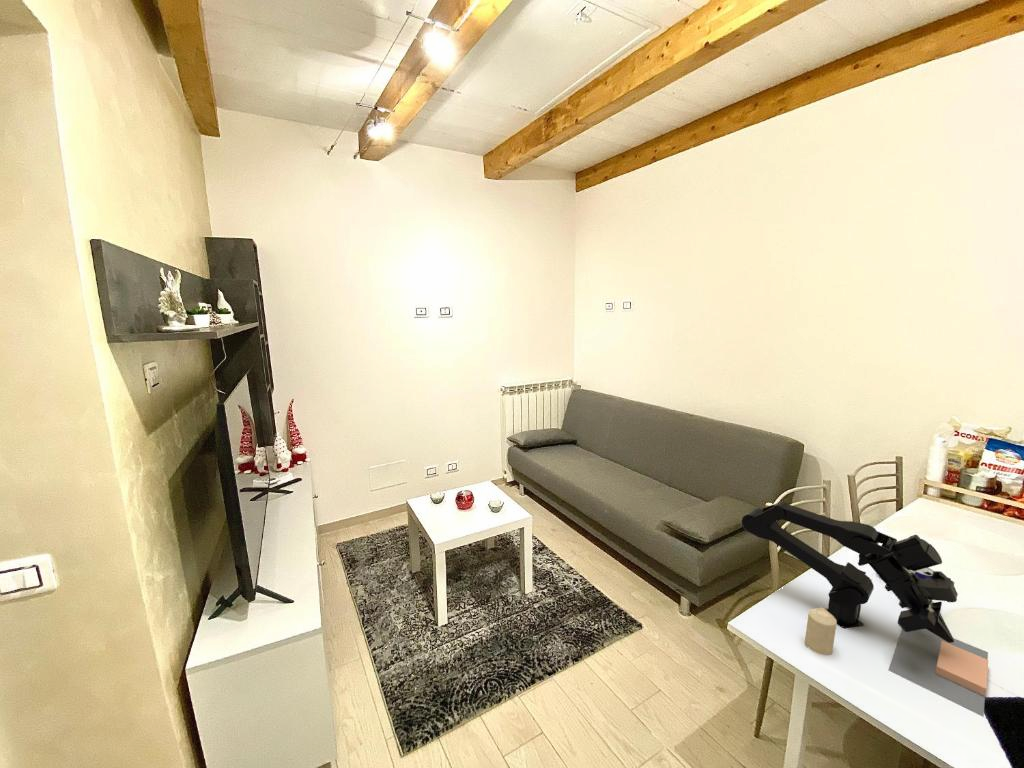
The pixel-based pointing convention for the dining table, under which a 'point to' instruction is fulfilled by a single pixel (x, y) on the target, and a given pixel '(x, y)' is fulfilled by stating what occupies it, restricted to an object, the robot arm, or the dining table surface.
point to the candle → (820, 631)
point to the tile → (963, 668)
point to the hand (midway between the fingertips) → (951, 641)
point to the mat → (933, 667)
